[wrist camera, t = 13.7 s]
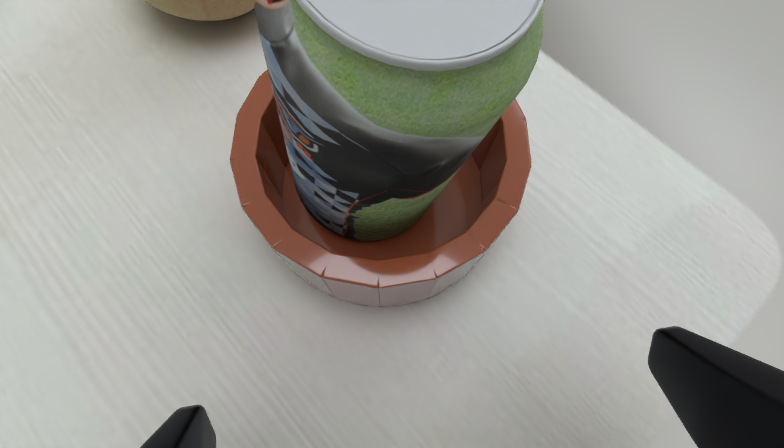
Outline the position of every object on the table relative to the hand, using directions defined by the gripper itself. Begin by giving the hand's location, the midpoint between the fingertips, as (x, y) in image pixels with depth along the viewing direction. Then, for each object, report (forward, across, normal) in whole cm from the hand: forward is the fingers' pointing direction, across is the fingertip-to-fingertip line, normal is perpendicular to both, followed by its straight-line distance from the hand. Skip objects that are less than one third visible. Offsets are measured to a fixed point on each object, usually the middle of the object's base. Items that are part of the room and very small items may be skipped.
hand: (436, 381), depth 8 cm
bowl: (+12, 0, 0) cm, 12 cm away
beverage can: (+11, 0, 0) cm, 11 cm away
